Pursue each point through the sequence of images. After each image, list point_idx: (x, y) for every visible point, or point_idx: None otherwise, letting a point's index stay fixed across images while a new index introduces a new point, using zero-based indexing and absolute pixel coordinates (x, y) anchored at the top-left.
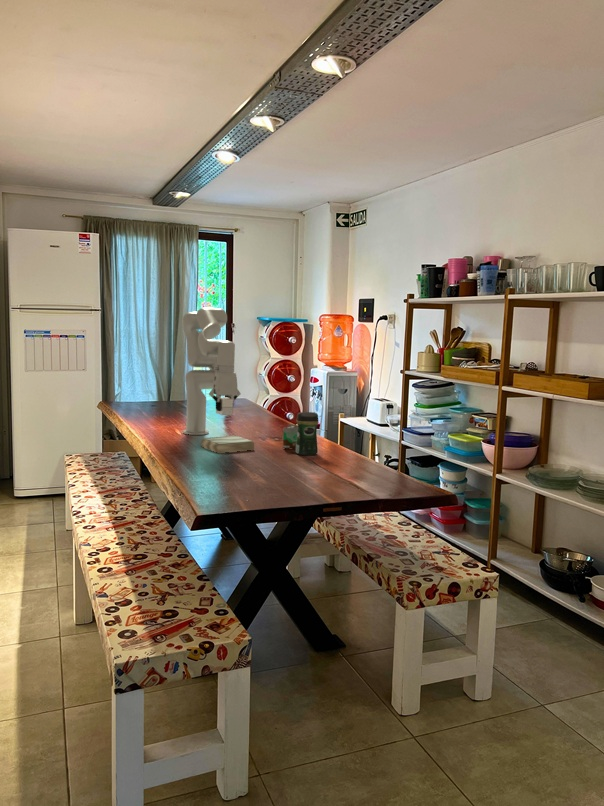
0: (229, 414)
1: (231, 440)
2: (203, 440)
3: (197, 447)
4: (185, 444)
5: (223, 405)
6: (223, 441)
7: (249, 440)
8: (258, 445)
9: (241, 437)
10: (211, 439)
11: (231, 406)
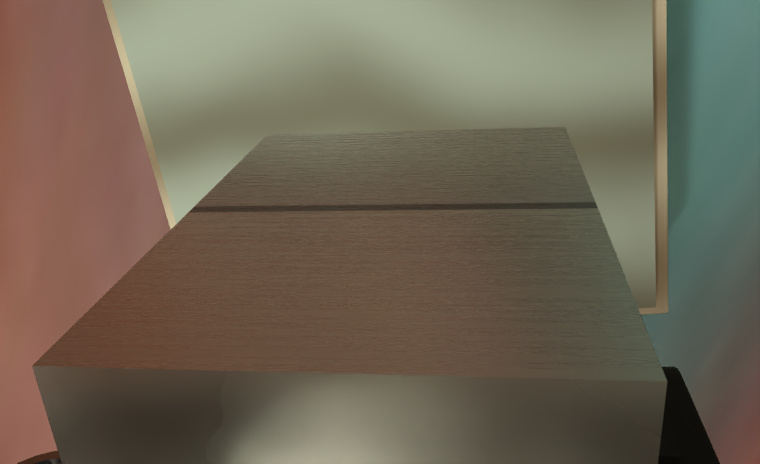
0: (350, 138)
1: (362, 64)
2: (665, 259)
3: (704, 249)
4: (747, 416)
5: (556, 235)
6: (497, 19)
7: (127, 2)
8: (30, 168)
9: (179, 220)
10: (594, 197)
11: (235, 215)
